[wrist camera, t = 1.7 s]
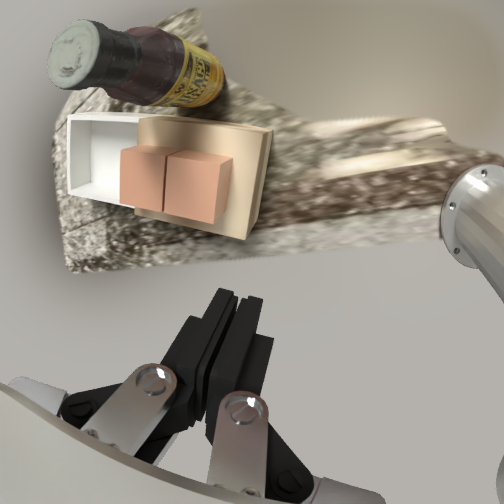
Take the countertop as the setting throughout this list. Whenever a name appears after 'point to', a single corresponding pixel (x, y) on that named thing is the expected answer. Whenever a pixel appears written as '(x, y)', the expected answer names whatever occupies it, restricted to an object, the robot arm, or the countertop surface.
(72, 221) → the countertop surface
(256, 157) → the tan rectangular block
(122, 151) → the block
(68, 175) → the box
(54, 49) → the sauce bottle
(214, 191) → the block
